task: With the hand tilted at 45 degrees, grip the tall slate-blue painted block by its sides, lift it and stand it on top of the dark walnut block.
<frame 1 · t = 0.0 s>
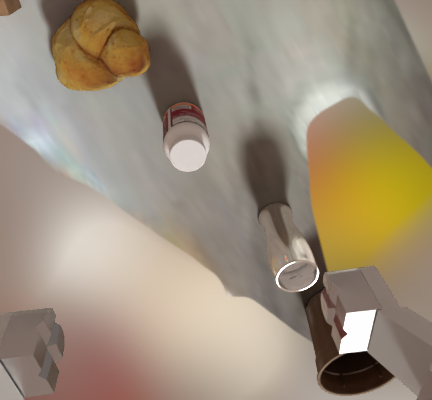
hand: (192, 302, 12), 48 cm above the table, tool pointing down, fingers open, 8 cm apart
pill bottle: (183, 120, 60), on the table
plant pot: (331, 304, 88), on the table
bread roll: (97, 43, 53), on the table
beer glass: (274, 215, 73), on the table
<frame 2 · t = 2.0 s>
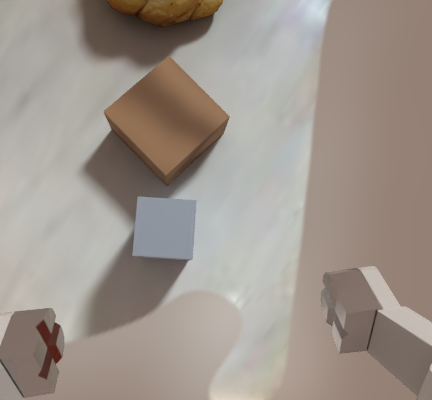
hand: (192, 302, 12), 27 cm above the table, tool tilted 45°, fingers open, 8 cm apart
slate block: (167, 235, 40), on the table
walnut block: (168, 132, 42), on the table
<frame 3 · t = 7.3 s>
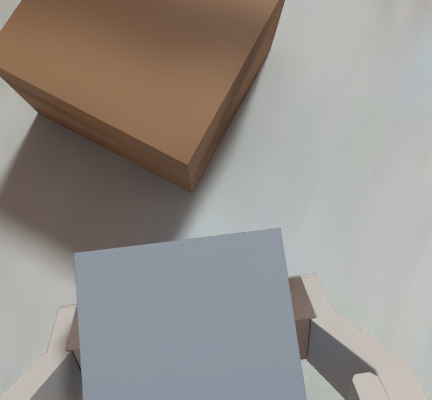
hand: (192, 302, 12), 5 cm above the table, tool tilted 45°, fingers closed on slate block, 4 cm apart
slate block: (197, 308, 17), on the table, touching gripper
walnut block: (157, 81, 19), on the table
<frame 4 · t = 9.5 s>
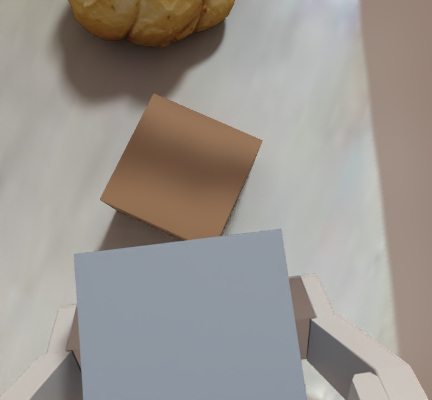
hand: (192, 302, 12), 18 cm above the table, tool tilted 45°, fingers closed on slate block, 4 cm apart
slate block: (198, 309, 17), point 13 cm above the table, touching gripper
walnut block: (186, 185, 31), on the table
bread roll: (155, 12, 34), on the table
when the fingers open (11 cm above the table, at t = 12.1 s): slate block drops 1 cm, point 5 cm above the table.
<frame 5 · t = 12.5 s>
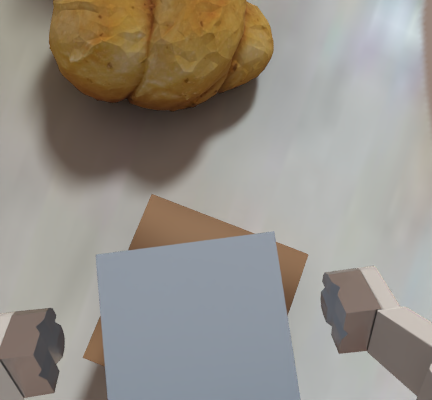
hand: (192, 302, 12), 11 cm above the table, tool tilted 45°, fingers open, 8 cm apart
slate block: (199, 304, 19), point 5 cm above the table
walnut block: (200, 297, 24), on the table
bread roll: (166, 59, 26), on the table
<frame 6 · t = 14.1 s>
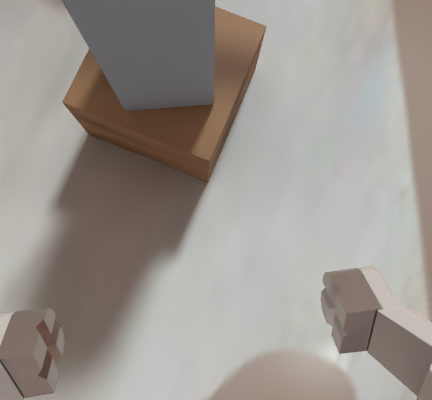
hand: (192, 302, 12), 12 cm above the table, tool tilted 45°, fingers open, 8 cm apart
slate block: (167, 66, 21), point 5 cm above the table, touching walnut block
walnut block: (173, 102, 26), on the table, touching slate block
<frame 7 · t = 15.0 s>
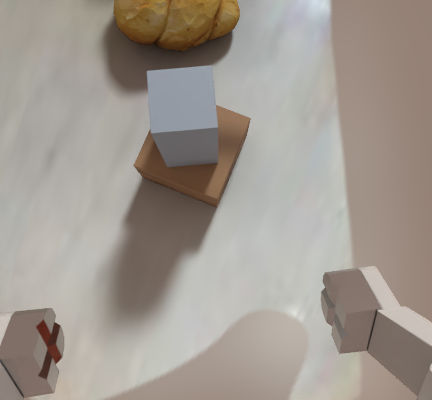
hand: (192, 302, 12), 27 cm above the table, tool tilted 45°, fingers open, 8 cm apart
slate block: (190, 141, 36), point 5 cm above the table, touching walnut block
walnut block: (195, 157, 41), on the table, touching slate block
bread roll: (178, 23, 44), on the table
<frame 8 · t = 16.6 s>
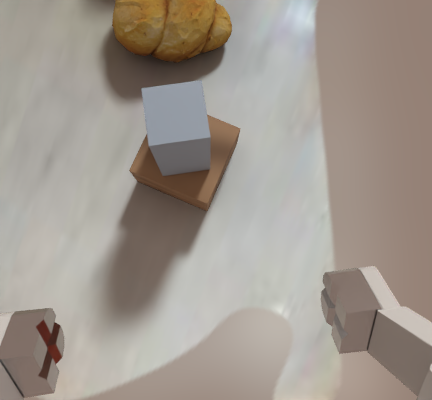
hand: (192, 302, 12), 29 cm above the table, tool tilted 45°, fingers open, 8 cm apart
slate block: (183, 150, 39), point 5 cm above the table, touching walnut block
walnut block: (187, 163, 44), on the table, touching slate block
bread roll: (173, 35, 46), on the table
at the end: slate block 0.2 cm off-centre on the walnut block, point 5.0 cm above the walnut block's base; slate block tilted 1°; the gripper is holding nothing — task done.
